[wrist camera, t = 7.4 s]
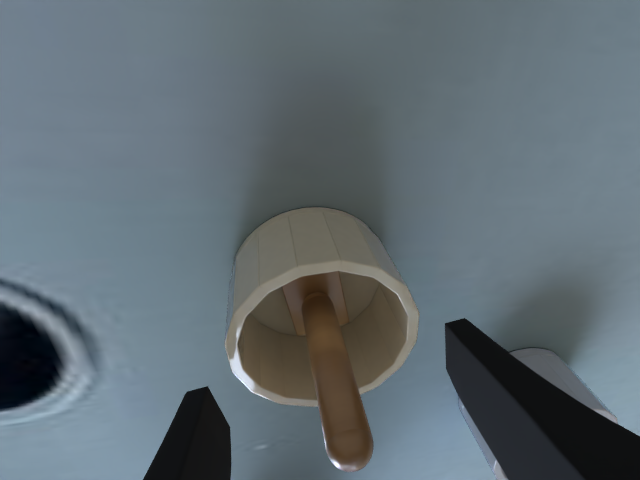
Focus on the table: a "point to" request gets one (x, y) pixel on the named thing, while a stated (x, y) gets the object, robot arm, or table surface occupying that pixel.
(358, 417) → the wooden wall peg
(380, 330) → the cream cup
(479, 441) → the grey cup
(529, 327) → the table surface
